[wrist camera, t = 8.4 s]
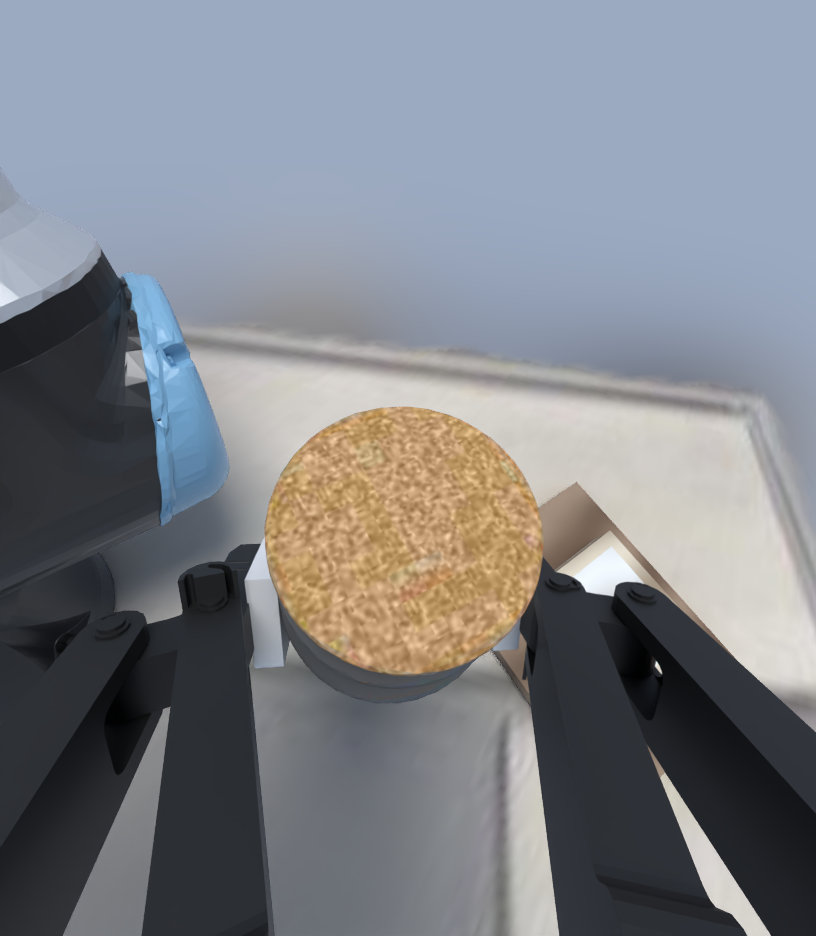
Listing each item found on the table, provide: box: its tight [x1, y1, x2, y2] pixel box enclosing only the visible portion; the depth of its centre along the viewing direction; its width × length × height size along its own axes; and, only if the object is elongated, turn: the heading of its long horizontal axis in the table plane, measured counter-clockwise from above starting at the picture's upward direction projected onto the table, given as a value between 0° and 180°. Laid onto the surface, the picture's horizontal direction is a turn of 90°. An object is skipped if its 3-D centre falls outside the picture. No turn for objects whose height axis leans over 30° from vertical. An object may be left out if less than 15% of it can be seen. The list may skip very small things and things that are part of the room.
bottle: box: [265, 407, 543, 703], centre depth 13 cm, size 6×6×15 cm
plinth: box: [492, 482, 734, 777], centre depth 33 cm, size 20×16×5 cm
